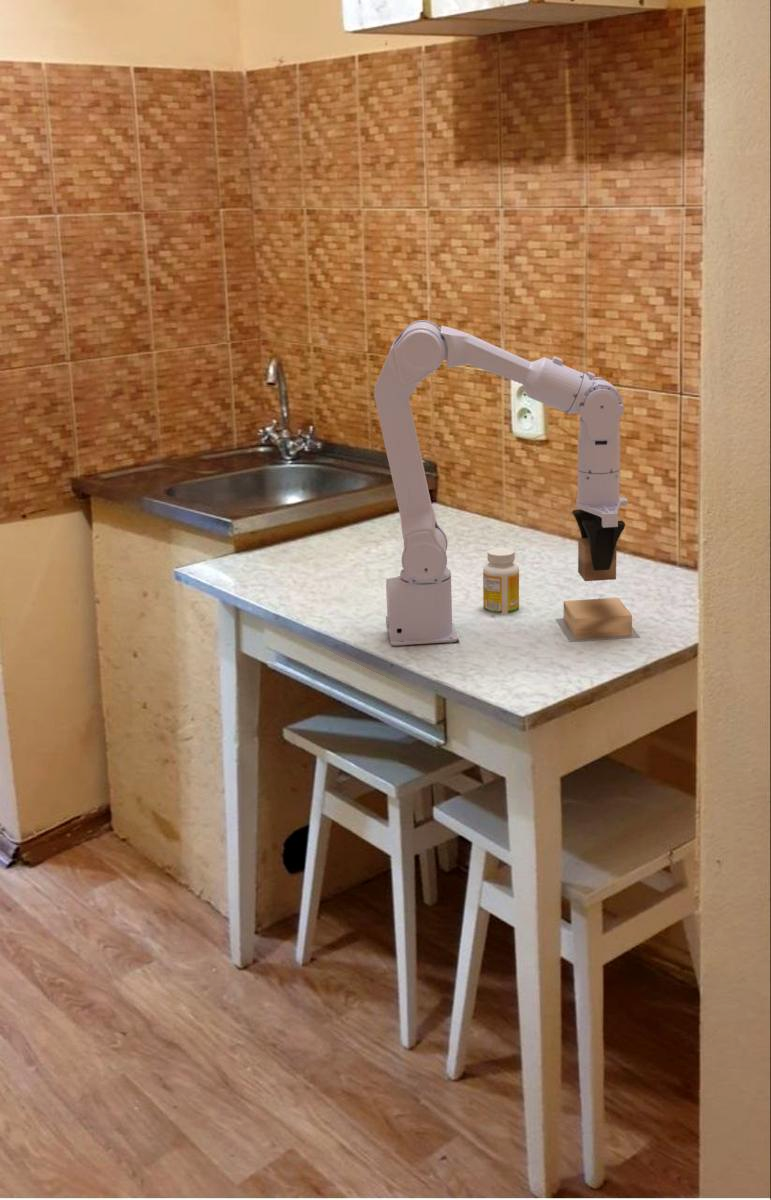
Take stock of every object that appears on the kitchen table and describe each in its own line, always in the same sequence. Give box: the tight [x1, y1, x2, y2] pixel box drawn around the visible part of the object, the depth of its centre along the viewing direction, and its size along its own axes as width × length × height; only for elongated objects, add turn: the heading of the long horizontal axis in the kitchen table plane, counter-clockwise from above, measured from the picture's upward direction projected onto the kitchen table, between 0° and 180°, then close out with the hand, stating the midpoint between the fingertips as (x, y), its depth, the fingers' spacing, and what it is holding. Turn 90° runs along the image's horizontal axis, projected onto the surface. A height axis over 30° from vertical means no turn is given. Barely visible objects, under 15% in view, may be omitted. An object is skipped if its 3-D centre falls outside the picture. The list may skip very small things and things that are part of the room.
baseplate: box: [555, 617, 642, 643], centre depth 185 cm, size 10×10×1 cm
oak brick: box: [563, 597, 633, 639], centre depth 184 cm, size 8×8×3 cm
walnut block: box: [577, 537, 618, 582], centre depth 181 cm, size 4×4×5 cm
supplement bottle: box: [482, 547, 520, 616], centre depth 193 cm, size 5×5×10 cm
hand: (597, 564), depth 182 cm, fingers closed on walnut block, 4 cm apart
